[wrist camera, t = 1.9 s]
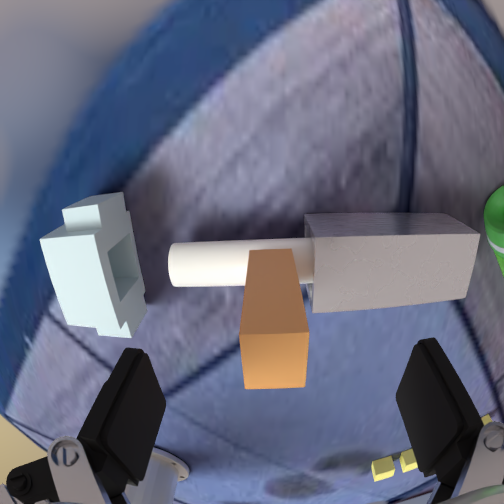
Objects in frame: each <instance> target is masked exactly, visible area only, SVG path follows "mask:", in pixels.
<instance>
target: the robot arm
mask: <svg viewBox="0 0 504 504" xmlns="http://www.w3.org/2000/svg"><path fill="white" fill-rule="evenodd" d="M396 401H397V404H398V407H399V410H400V413H401V416H402V419H403V421H404V424H405V427H406V430H407V433H408V437H409V440H410V443H411V446H412V449H413V452H414V456H415V459H416V462H417V466H418V469H419V471H420V472H423V473H424V477H428V476H431V475H434V474H436V475H437V478H438V482H437V484H436V486H435V488H434V490H433V492H432V494H431V496H430V498H429V500H428V502H427V504H504V424H502V423H500V422H495V421H494V422H489V423H488V424H486V425H485V426H484V424H483V421H482V419H481V417H480V415H479V413H478V411H477V409H476V408H475V406H474V404H473V402H472V400H471V398H470V396H469V394H468V392H467V391H466V389H465V387H464V385H463V383H462V382H461V380H460V378H459V376H458V375H457V373H456V371H455V369H454V368H453V366H452V364H451V363H450V361H449V359H448V358H447V356H446V354H445V353H444V351H443V349H442V348H441V346H440V345H439V343H438V341H437V340H436V339H435V338H428V339H422V340H419V341H418V343H417V344H416V345H414V347H413V350H412V353H411V356H410V359H409V361H408V364H407V367H406V369H405V372H404V375H403V377H402V380H401V382H400V385H399V387H398V390H397V392H396ZM165 408H166V400H165V398H164V395H163V393H162V390H161V388H160V385H159V383H158V380H157V378H156V375H155V372H154V370H153V367H152V364H151V362H150V359H149V356H148V354H147V353H144V351H143V350H142V349H136V348H125V350H124V351H123V353H122V355H121V357H120V358H119V360H118V362H117V364H116V366H115V368H114V370H113V371H112V373H111V375H110V377H109V379H108V381H106V382H105V383H104V385H103V387H102V389H101V391H100V392H99V394H98V396H97V398H96V400H95V402H94V404H93V406H92V408H91V410H90V412H89V414H88V416H87V418H86V420H85V422H84V424H83V426H82V428H81V430H80V432H79V434H78V436H77V439H76V438H73V437H69V436H64V437H60V438H58V439H56V440H55V441H53V442H52V443H51V445H50V447H49V449H48V453H47V455H48V456H47V457H44V458H41V459H39V460H36V461H34V462H31V463H28V464H25V465H22V466H19V467H16V468H14V469H12V471H11V472H10V473H9V474H8V476H7V481H6V484H7V485H4V484H1V485H0V504H173V500H174V495H175V490H176V485H177V481H182V480H185V479H187V478H188V476H189V468H188V466H187V465H186V464H185V463H184V462H183V461H182V460H180V459H179V458H177V457H175V456H174V455H172V454H170V453H168V452H165V451H163V450H160V449H157V448H155V447H154V444H155V441H156V437H157V434H158V431H159V427H160V424H161V421H162V418H163V415H164V411H165Z"/></svg>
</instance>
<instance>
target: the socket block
mask: <svg viewBox="0 0 504 504" xmlns="http://www.w3.org/2000/svg"><path fill="white" fill-rule="evenodd" d="M62 211H63V216H64V221H65V224H64V225H63V226H61V227H59V228H57V229H56V230H54V231H52V232H51V233H49V234H47V235H46V236H44V237H42V238H41V239H40V243H41V246H42V250H43V254H44V257H45V261H46V264H47V267H48V271H49V274H50V277H51V280H52V283H53V286H54V289H55V292H56V295H57V298H58V300H59V303H60V306H61V309H62V311H63V314H64V316H65V319H66V321H67V324H68V325H75V326H84V327H95V328H96V329H97V332H98V334H99V335H103V336H113V337H125V338H132V337H133V335H134V333H135V332H136V330H137V328H138V326H139V325H140V323H141V321H142V319H143V318H144V316H145V314H146V313H147V307H146V303H145V299H144V293H145V292H146V290H145V286H144V282H143V277H142V273H141V268H140V264H139V259H138V254H137V249H136V244H135V239H134V234H133V228H132V223H131V217H130V211H126V208H125V202H124V195H123V192H118V193H110V194H103V195H96V196H90V197H88V198H85V199H83V200H81V201H79V202H77V203H75V204H72V205H70V206H68V207H66V208H64V209H62Z"/></svg>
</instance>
